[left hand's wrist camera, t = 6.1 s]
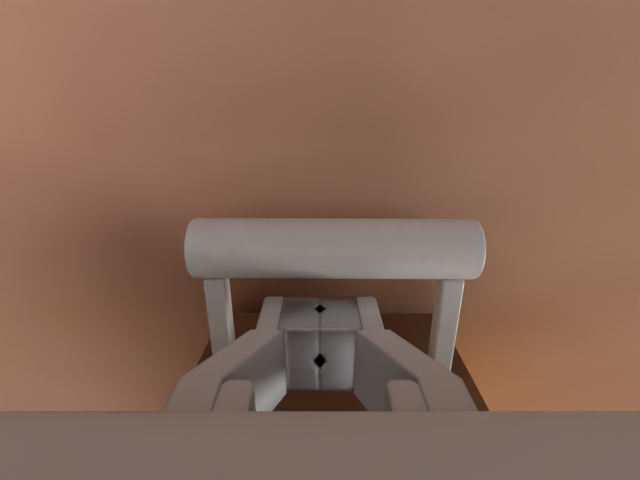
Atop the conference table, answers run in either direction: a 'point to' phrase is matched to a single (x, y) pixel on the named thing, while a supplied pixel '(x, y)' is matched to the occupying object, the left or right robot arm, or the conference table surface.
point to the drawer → (340, 277)
